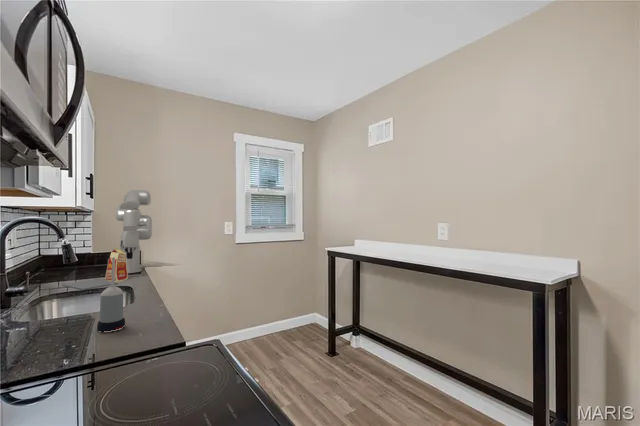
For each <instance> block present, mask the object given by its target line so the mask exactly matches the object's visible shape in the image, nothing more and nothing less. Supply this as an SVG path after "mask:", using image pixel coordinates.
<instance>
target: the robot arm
mask: <svg viewBox="0 0 640 426" xmlns="http://www.w3.org/2000/svg"><path fill="white" fill-rule="evenodd" d="M151 197H152V196H151V193H150V191H148V190H146V189H145V190H143V189H131V190H129V191H127V194H125V195H124V197H123V202H121V203H120V204H118V206H117V207H116V210H115V219H116V221H119V222H123V224H122V226H123V227H122V229H123V230H122V231H121V234H120V238H119V248H120V249H121V250H123V252H124V253H125V255H126V261H127V270H128V274H131V273H133V274H134V273H140V272H142V271H143V269H142V268H147V265H146V264H140V261H141V260H140V257H141V253H140V252H141V246H140V241H143V240H146V241H147V240H150V239H151V238H152V234H153V220H152V217H151V216H150V215H148V214H147V215H144V214H143V213H142V212H141V210H140V209H139V207H140V206H150V204H151V202H152V198H151Z"/></svg>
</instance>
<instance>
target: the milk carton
mask: <svg viewBox="0 0 640 426" xmlns="http://www.w3.org/2000/svg"><path fill="white" fill-rule="evenodd" d="M110 252H111V253H110V255H109V257H108V261H107V267H106V272H105V276H104V280H106V281H107V276H108V281H112V275H111V270H112V261H113V257H115V270H114V274H115V282H117V283H119V282H123V281H124V282H125V281H127V280H129V275H128V274H129V273H128V270H127V261H126V255H125V253H124V250H121V248H117V247H113V250H112V251H110ZM107 272H108V273H107Z"/></svg>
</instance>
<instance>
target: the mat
mask: <svg viewBox="0 0 640 426" xmlns="http://www.w3.org/2000/svg"><path fill="white" fill-rule="evenodd" d="M111 282H112V281H108V286H110V285H111ZM118 283H119V282H114V285H117V284H118ZM62 286H63V287H66V288H72V289H77V290H81V291H85V290H91V289H95V288H101V287H105V286H106V287H108V286H107V281H106V280H105V279H99V278H95V279H89V280H84V281H83V280H82V281H76V282H70V283H64V284H62Z"/></svg>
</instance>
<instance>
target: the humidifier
mask: <svg viewBox="0 0 640 426" xmlns="http://www.w3.org/2000/svg"><path fill="white" fill-rule="evenodd" d="M114 270H115V257H113V261H112V270H111V275H112V282H111V285H108V276H107V286H106V287H107V288H105V289H104V290H103V291H102V292H101V294H100V300H99V301H100V303H99V305H100V306H99V320H98V322H97V325H96V326H97V327H96V328H97V329H96V331H101V332H104V331H111V330H116V329H119V328H122V327H123V326H124V325H125V326H126V319H125V317H124V291H123V289H121V288H120V287H117V286H116V285H115V284H114V282H115V274H114ZM107 273H108V272H107Z"/></svg>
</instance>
